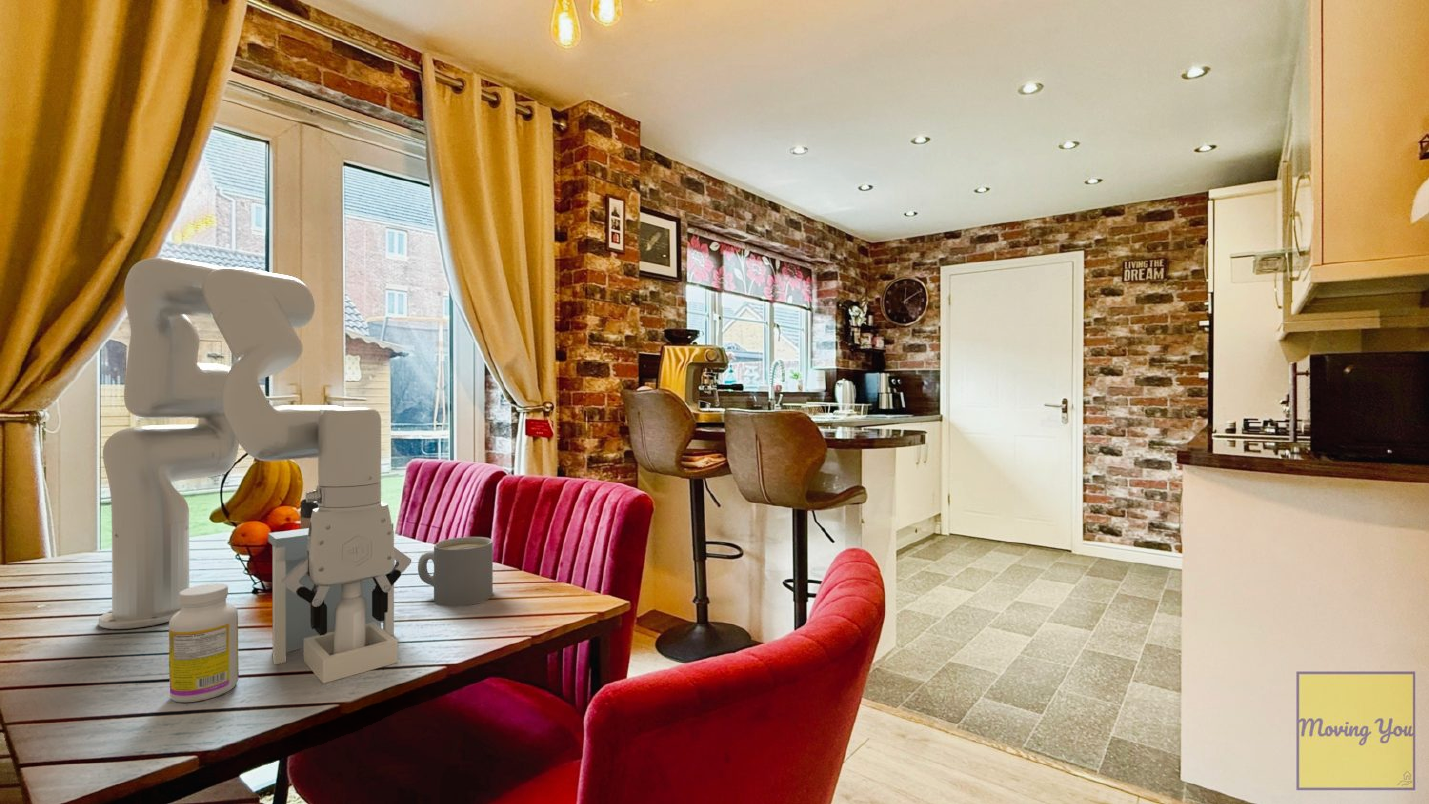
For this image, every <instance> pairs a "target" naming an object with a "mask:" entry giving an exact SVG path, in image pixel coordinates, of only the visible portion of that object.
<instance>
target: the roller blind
mask: <svg viewBox="0 0 1429 804" xmlns="http://www.w3.org/2000/svg"><path fill="white" fill-rule="evenodd" d="M391 523H392V531H393V541H394V542H395V530H394V523H393V522H391ZM308 531H309V528H306V529H299V528H298V529H291V530H284V531H274V532H268V533H267V534H268V535H267V542H268V543H269V544H271V545H272V549H271V550H272V553H271V554H272V563H271V564H272V565H271V566H272V568H271V569H272V570H271V571H272V654H273V655H272V659H273V661H272V662H273V664H274V665H279V664H283V663H286V662H287V661H286V658H287V657H286V653H289V652H292V651H297V650H302V649H304V638H308V637H312V636H317V635H319V634H318V633H317V632H316V630H315V629H312V628H311V623H310V603H309V602H307V601H306V600H304V599H303V598H301V597H299V596H298V595H297V594H295V593H294V592H293V591H291V590H290V589H288V588H287V587H285V586H284V585H283V584H282V579H283V578H284V577H285V576H286V575H287V574H288V573H289V572H290V571H291V570H292V569H294V568H295V567H296V566H297V565H298V564H299V563H300V562H301V561H302V560H303V559H304V558H305V557H306V548H307V539H308ZM361 581H362V586H361V595H360V596H362V597H364V598H365V600H366V623H365V624H368V623H372V622H375V623H376V624H377V625H379V626H380V627H381V628H382V629H384V630H385V631H386V632H387V633H389V634H390V635H391V636H393V635H395V583H394V584H393V585H392V586H391V590H390V591H389V592H388V612H386V613H384V621H381V622H380V621H377V620H376V619H375V618H373V617H372V591H373V589H375V586H376V585H375V583H374V581H373V579H372V578H370V579H364V580H361ZM299 583H300V584H302V585H303V586H305V587H306V588H308V589H309V590H311V588H312V586H313V582H312V581H311V579H309V578H307V576H306V573H305V574H304V575H303V576H302V577H301V578H300V580H299ZM341 598H342V597H341V584H338V585H332V586H330V587H329V589H328V591H327V594H326V596H325V598H324V604H326V605H327V633H329V632H334V625H335V608H336V605H337V603H338V602H339V601H340V599H341Z"/></svg>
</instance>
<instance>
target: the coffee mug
mask: <svg viewBox="0 0 1429 804" xmlns="http://www.w3.org/2000/svg"><path fill="white" fill-rule="evenodd" d="M493 547H494V546H493V539H491V538H489V537H484V536H464V537H463V536H462V537H455V538H447V539H444V540H440V541H438V542H436V543H435V544H434V546H433V550H430V551H427V552H424V553H423V554H422V555H421V556H420V557H419V559H418V563H417V564H418V565H417V571H418V577H419V578H420V580H421V581H422V582H424V584H427V585H429V586H431V587H433V602H434V604H436V605H439V606H442V607H452V608H454V607H466V606H472V605H476V604H480V603H483V602H485V601H487V600H490V599H491V598H492V597H493V595H494V594H493V591H494V590H493V587H494V586H493V582H494V581H493V580H494V579H493V577H494V575H493V571H494V569H493V564H494V563H493V562H494V561H493V560H494V557H493V556H494V555H493V552H494V551H493V549H494V548H493ZM429 560H431V561H432V562H433V575H431V574H430V573H429V571H428V568H427V567H428V565H427V564H428V561H429Z"/></svg>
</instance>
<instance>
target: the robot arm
mask: <svg viewBox="0 0 1429 804" xmlns="http://www.w3.org/2000/svg"><path fill="white" fill-rule="evenodd" d="M123 297H124V303H125V308H126V313H127V316H128V321H129V327H130V337H129V344H128V353H127V361H126V367H125V368H126V369H125V378H124V387H123V401H124V405H125V408H126V410H127V411H128V412H129V413H131V415H134V416H136V417H139V418H144V419H151V420H152V419H154V420H158V419H159V420H161V419H162V420H163V419H164V420H166V419H169V420H170V419H177V420H178V419H198V423H196V424H195V423H193V424H191V423H190V424H158V425H156V424H155V425H153V424H152V425H141V426H133V427H131V426H130V427H126V428H124V429H120V430H118V431H116V432H115V433H113V434H112V435H111V436H109V437H108V438H107V440H106V441H105V442H104V444H103V449H102V459H103V460H102V461H103V466H104V470H105V473H106V477H107V481H108V486H109V491H110V507H111V606H112V607H111V610H108V611H106V612H105V613H103V614H101V615H100V616H99V618H98V626H99V627H101V628H104V629H110V630H125V629H126V630H127V629H128V630H129V629H137V628H138V629H139V628H144V627H145V628H146V627H150V626H151V627H152V626H156V625H161V624H166V623H169V622H170V620H171V618H172V617H173V616H174V615H175V614H176V613H178V612H179V611H181V610H182V606H181V605H180V603H179V593H180V592H181V591H182V590H185V589H187V588H190V508H189V505H188V502H187V500H186V498H184V496H183V495H182V494H181V493H180V492H179V491H178V490H177V489H176V488H175V487H174V485H173V484H172V483H173V482H178V481H184V480H185V481H187V480H195V479H197V480H198V479H204V478H211V477H217V476H221V475H224V474H226V473H228V472H229V471H230V470H232V467H234V465H235V462H236V461H237V458H238V457H237V456H238V453H239V449H240V448H239V446H241V448H242V449H243V451H244V452H246V454H248V455H249V457H251V458H253V459H256V460H258V461H261V462H280V461H288V460H289V461H291V460H303V459H317V463H318V464H317V467H318V469H317V471H318V472H317V477H318V479H317V485H316V488H315V489H314V490H312V491H307V492H305V499H306V502H313V503H314V502H316V503H317V505H318V508H315V509H313V512H312V515H311V520H310V525H309V531H308V539H307V548H306V557H305V558H304V559H303V560H302V561H301V562H300V563H299V564H298V565H297V566H296V567H295V568H294V569H292V570H291V571H290V572H289V573H288V574H287V575H286V576H285V577H284V578H283V579H282V584H283V585H284V586H285V587H287V588H288V589H290V590H291V591H293V592H294V593H295V594H297V595H298V596H299V597H301V598H303V599H304V600H306V601H307V602H309V603H310V623H311V628H312V629H315V630H316V632H317V633H318V634H319V635H320V636H322V635H325V634H326V633H327V605H326V604H324V598H325V596H326V594H327V591H328V589H329V587H330V586H332V585H338V584H343V583H349V582H354V581H359V580H364V579H370V578H372V579H373V581H374V583H375V585H376V586H375V589H373V591H372V617H373V618H375V619H376V620H377V621H380V622H381V623H382V622H383V621H384V613H386V612H388V592H389V591H390V590H391V586H392V585H393V584H394V585H395V583H396V582H397V581H398V580H399V579H400V578H401V577H402V574H403V573H404V572H405V570H407V568H408V567H409V566H410V565H411V563H412V559H411V557H410V556H409V557H408V556H407V555H406V554H404V553H403V552H401V550H399V549H397V548H396V547H395V540H394V541H393V531H394V530H393V531H392V523H393V522H392V518H391V512H390V508H389V505H388V503H385V502H383V501H382V418H381V414H380V413H379V411H378V410H377V409H375V408H372V407H360V406H359V407H348V406H347V407H345V406H339V405H330V404H329V405H328V404H324V405H323V404H322V405H321V404H316V405H315V404H314V405H313V404H311V405H310V404H309V405H308V404H305V405H304V404H299V405H297V404H293V405H291V404H287V405H286V404H285V405H281V404H280V405H271V403H270V402H269V401H268V399H267V397H266V395H265V393H264V392H263V389H262V388H261V385H260V383H259V381H260V380H262V379H265V378H267V377H271V376H274V375H275V374H278V373H281V372H283V371H284V370H287V369H289V368H290V367H292V365H294V364H296V362H297V361H298V360H299V359H300V358H301V356H302V354H303V348H304V347H303V344H302V341H301V339H300V338H299V336H298V334H297V332H296V331H295V329H300V328H303V327H305V326H306V325H308V324H309V323H310V321H311V320H312V318H313V317H314V314H315V306H316V305H315V299H314V297H313V294H312V292H311V290H310V289H309V288H308V286H307V285H306V284H305V283H304V282H303V281H301V280H300V279H298V278H296V277H293V276H289V275H286V274H279V273H274V272H273V273H272V272H268V271H264V270H259V269H258V270H257V269H253V268H246V267H235V266H234V267H231V266H230V267H224V266H219V265H214V264H210V263H203V262H197V261H193V260H192V261H191V260H186V259H178V258H169V257H152V258H151V257H150V258H145V259H142V260H139V261H138V262H136V263H135V264H134V265H132V267H131V268H130V269H129V271H128V273H127V275H126V278H125V281H124V286H123ZM188 316H195V317H203V318H210V319H211V318H213V320H214V323H215V324H216V326H217V328H218V330H219V331H220V333H221V335H222V337H223V339H224V341H225V343H226V345H227V346H228V348H229V351H230V353H231V354H232V356H233V358H234V360H235V362H234V363H233V364H232V365H231V367H230V366H229V365H228V366H227V365H224V364H221V363H220V364H219V363H209V362H208V363H205V362H198V361H199V359H198V358H199V349H200V344H201V343H200V342H201V341H200V335H199V332H198V330H197V329H196V327H195V326H194V324H193V323H192V321H191V320H190V319H189V317H188ZM305 573H306V576H307V578H309V579H311V581H312V582H313V586H312V588H311V590H309V589H308V588H306V587H305V586H303V585H302V584H300V583H299V580H300V578H301V577H302V576H303V575H304V574H305Z"/></svg>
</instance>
